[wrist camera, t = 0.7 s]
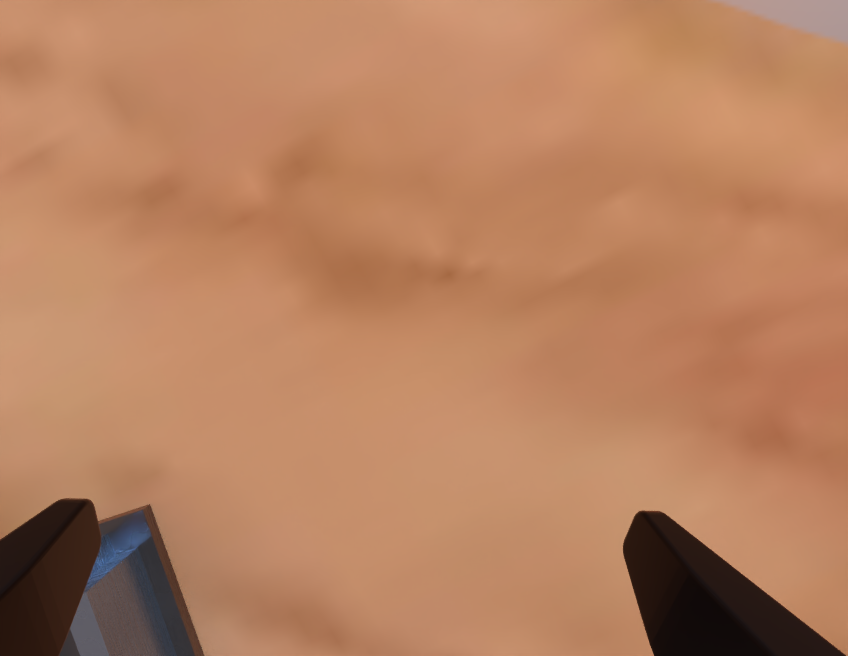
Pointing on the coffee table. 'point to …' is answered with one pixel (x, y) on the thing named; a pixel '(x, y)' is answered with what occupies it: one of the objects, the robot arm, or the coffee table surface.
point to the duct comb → (132, 596)
